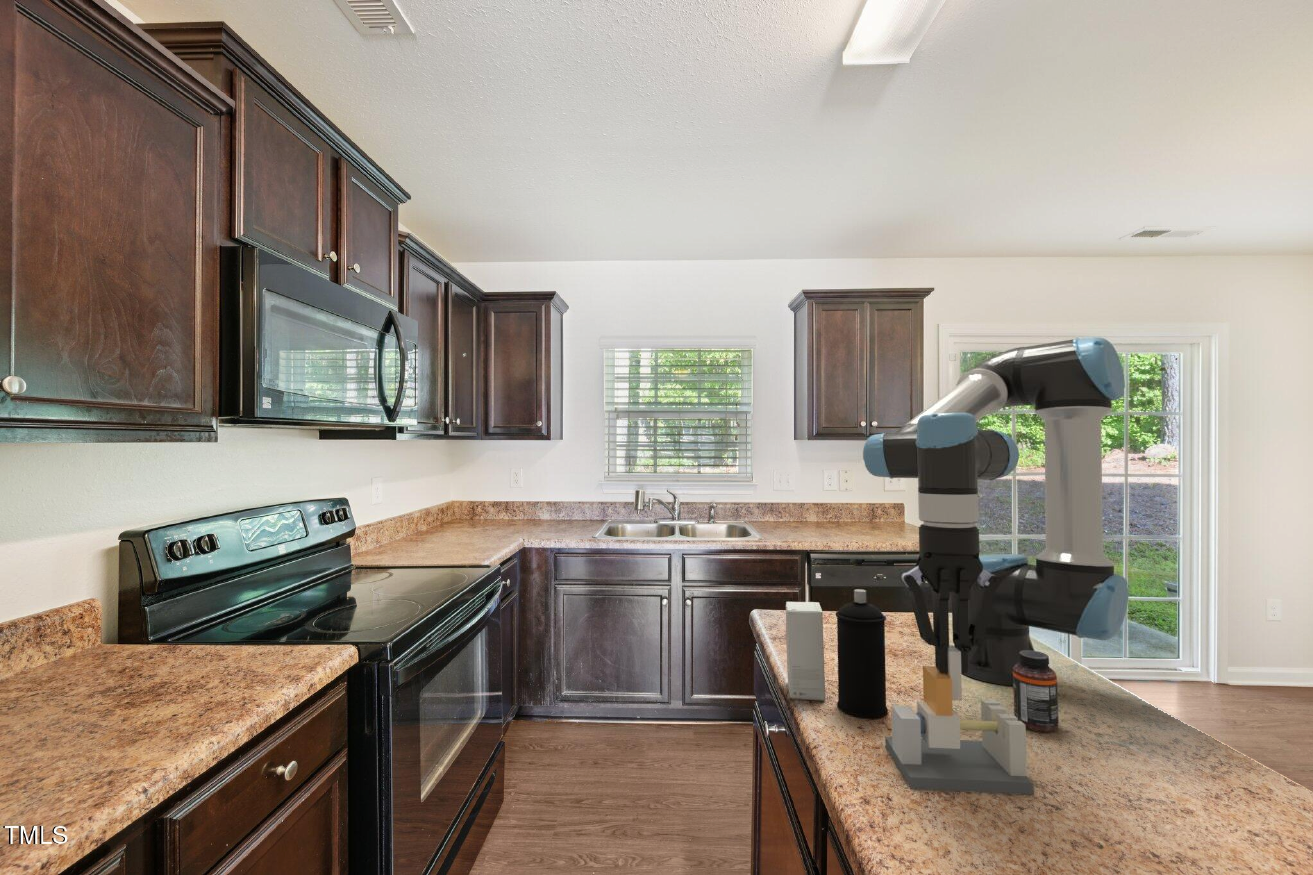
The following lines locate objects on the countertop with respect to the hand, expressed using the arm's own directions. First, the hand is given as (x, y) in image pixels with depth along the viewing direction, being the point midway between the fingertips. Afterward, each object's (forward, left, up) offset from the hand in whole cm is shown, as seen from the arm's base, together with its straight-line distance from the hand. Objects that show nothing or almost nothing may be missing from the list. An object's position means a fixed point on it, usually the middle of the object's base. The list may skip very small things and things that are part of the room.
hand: (952, 695), depth 80 cm
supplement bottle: (-18, -15, -10) cm, 26 cm away
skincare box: (+16, -26, -10) cm, 32 cm away
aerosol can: (+8, -19, -10) cm, 23 cm away
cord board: (0, 0, -10) cm, 10 cm away
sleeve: (+2, 0, -6) cm, 6 cm away
